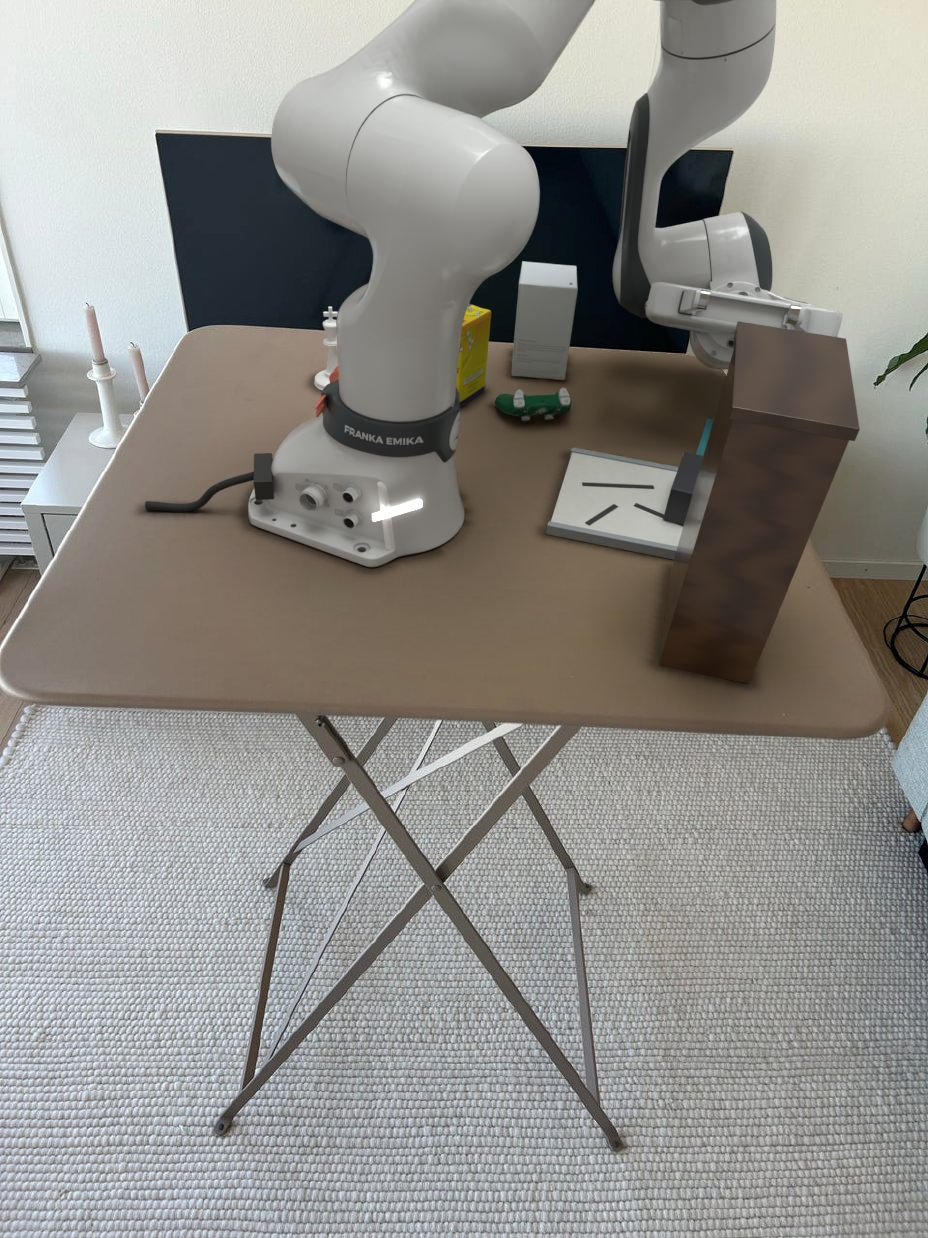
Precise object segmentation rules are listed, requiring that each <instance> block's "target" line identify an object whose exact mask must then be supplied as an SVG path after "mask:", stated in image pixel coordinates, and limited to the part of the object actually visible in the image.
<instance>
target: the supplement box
mask: <svg viewBox="0 0 928 1238" xmlns="http://www.w3.org/2000/svg"><path fill="white" fill-rule="evenodd" d="M491 319H492V311H491V310H490V309H487V308H483V307H480V306H477V305H474V304H472V303H469V305H468V307H467V310H466V313H465V316H464V320H463V324H462V329H461V337H460V346H459V356H458V368H457V381H456V388H457V389H458V391H459V395H460V408H461V407H463V406H464V405H465V404H467V403H468V402H470V401H471V400H473V399H474V398H476V397H477V396H479V395H480V394H482V393H483V392H484V391H485V386H486V376H487V375H486V374H487V363H488V354H489V353H488V352H489V341H490V331H491V321H492V320H491Z"/></svg>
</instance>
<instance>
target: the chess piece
mask: <svg viewBox="0 0 928 1238" xmlns="http://www.w3.org/2000/svg"><path fill="white" fill-rule="evenodd" d="M327 308H328V311H323V312H322V313H323V314H322V315H323V317H324V318H325V317H327V318H328V319H325V320H323V321H322V327H323V330H324V331H325V335H326V337H325V338H324V339H323V341H322V343H323V345H324V346H326V347H327V360H326V362H327V363H326V368H325V369H323V370H321V371H319V372H318V373H316V375H315V376H314V383H313V384H314V386H315V387H316V389H318V390H319V391H322V390H323V389H324V388H325V386H326V385H328V384H329V383H330V381H329V377H330V374H331V373H332V372H334V370H335V368H336V367H337V366H338V353H337V329H336V320H337V319H334V318H337V314H338V311H333V306H328V307H327Z"/></svg>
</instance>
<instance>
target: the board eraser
mask: <svg viewBox="0 0 928 1238" xmlns="http://www.w3.org/2000/svg"><path fill="white" fill-rule="evenodd" d="M713 421H714V418H710V417H707V419H706V422H705V425H704V427H703V430H702V434H701V437H700V440H699V442H698V446H697V449H696V452H695V453H693V452H689V451H683V453H682V456H681V460H680V462H679V465H678V467H679V468H678V471H677V473H676V476H675V479H674V482H673V485H672V487H671V491H670V494H669V498H668V502H667V506H666V510H665V513H664V517H663V520H666V521H670V522H674V523H678V524H682V525H684V522H685V519H686V515H687V512H688V508H689V505H690V501H691V498H692V494H693V491H694V487H695V484H696V480H697V477H698V473H699V470H700V466H701V463H702V459H703V456H704V452H705V449H706V445H707V442H708V438H709V435H710V431H711V428H712V424H713Z"/></svg>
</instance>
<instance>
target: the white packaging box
mask: <svg viewBox="0 0 928 1238" xmlns="http://www.w3.org/2000/svg"><path fill="white" fill-rule="evenodd" d="M577 268H578V267H577V265H571V264H570V265H569V264H556V263H546V262H535V261H534V262H533V261H523V260H522V262H521V267H520V273H519V280H518V289H517V290H518V293H517V304H516V313H515V326H514V335H513V348H512V357H511V358H512V360H511V376H512V377H522V378H534V379H545V380H556V381H565V379H566V373H567V366H568V360H569V352H570V345H571V339H572V331H573V324H574V318H575V312H576V311H575V310H576V304H577V297H578V291H579V290H578V289H579V288H578V271H577Z"/></svg>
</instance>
